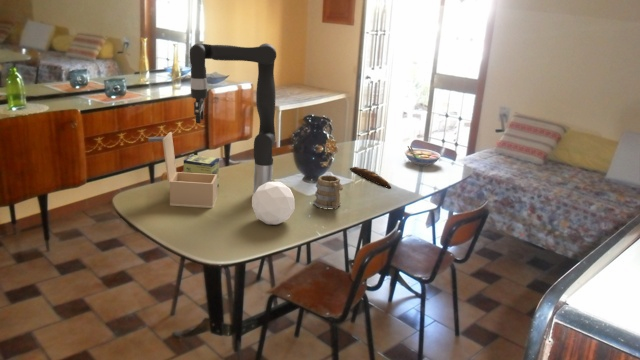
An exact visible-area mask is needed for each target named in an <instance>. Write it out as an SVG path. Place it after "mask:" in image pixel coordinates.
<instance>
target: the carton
mask: <svg viewBox="0 0 640 360" xmlns="http://www.w3.org/2000/svg"><path fill="white" fill-rule="evenodd" d="M217 199H218V187H217V174H201V173H185V172H184V171H183V172H182V171H181V172H180V171H176V173H175V174H174V176H173V177H172V179H171V180H170V181H169V206H176V207H190V208H191V207H193V208H208V209H212V208H214V206H215V204H216V201H217Z"/></svg>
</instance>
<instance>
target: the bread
mask: <svg viewBox="0 0 640 360" xmlns="http://www.w3.org/2000/svg"><path fill="white" fill-rule="evenodd" d="M349 170H351V171H352V172H353V171H354V172H353V173H355V172H356V174H357V173H358V174H357V175H359V174H360V175H359V176H361V175H362V176H361V177H363V176H364V177H363V178H365V179H367V178H368V179H367V180H369V179H370V181H371V180H372V181H371V182H373V181H374V182H373V183H376V182H377V183H376V184H378V183H379V184H378V185H380V184H381V185H380V186H382V185H384V186H387V187H390V188H392V186H391V185H390V183H389V182H388V181H387V180H386V179H385V178H383V177H382V176H379V174H378V173H376V172H374V171H372V170H369V169H366V168H361V167H358V166H353V167H350V168H349ZM384 186H383V187H384ZM387 187H386V188H387ZM390 188H389V189H390Z"/></svg>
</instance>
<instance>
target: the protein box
mask: <svg viewBox="0 0 640 360" xmlns="http://www.w3.org/2000/svg"><path fill="white" fill-rule="evenodd" d="M183 172H185V173H201V174H217V188H219V186H220V185H219V184H220V183H219V182H220V180H219V179H220V158H219V157H210V156H202V155H197V154H191V155H190V156H189V157H187V158H185V159H183Z"/></svg>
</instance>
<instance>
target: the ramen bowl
mask: <svg viewBox="0 0 640 360" xmlns="http://www.w3.org/2000/svg"><path fill="white" fill-rule="evenodd" d="M407 148H408V149H405V150H404V154H405V156H406V158H407V159H408V160H409V161H410V162H411V163H412V164H415V165H417V166H419V167H426V166H431V165H433V164H435V163H436V162H438V161H439V159H440V158H441V154H440V153H439V152H437V151H434V150H430V149H427V148H413V147H412V146H409V145H407Z"/></svg>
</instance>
